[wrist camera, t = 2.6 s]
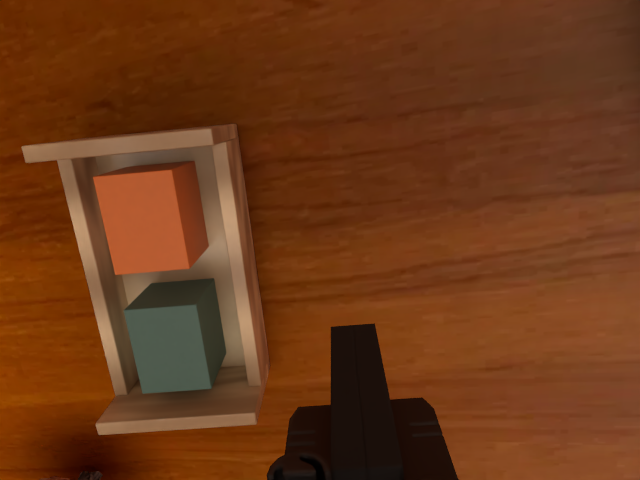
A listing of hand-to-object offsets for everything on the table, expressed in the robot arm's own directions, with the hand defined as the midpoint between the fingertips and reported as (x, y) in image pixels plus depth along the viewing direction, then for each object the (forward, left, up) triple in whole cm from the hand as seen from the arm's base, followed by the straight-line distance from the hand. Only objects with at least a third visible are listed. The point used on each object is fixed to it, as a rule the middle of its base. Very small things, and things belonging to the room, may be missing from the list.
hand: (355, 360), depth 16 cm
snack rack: (+3, -10, -13) cm, 17 cm away
